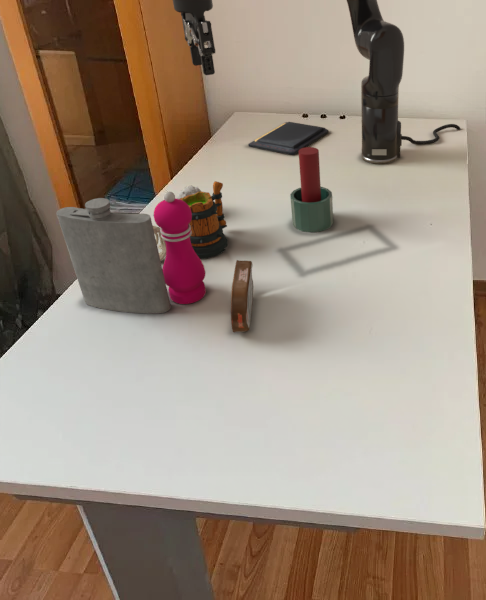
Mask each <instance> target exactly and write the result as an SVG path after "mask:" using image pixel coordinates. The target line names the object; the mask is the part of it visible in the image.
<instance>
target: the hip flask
mask: <svg viewBox="0 0 486 600" xmlns="http://www.w3.org/2000/svg"><path fill="white" fill-rule="evenodd" d="M84 207H85V208H80V207H75V206H66V207H62V208H60V209H58V210H57V211H56V213H55V214H56V217H57V220H58V223H59V226H60V229H61V233H62V236H63V239H64V242H65V245H66V248H67V251H68V254H69V257H70V261H71V263H72V267H73V269H74V274H75V275H76V279H77V282H78V285H79V289H80V292H81V294H82V297H83V301H84V303H85V305H87V306H90V307H94V308H99V309H103V310H107V311H108V310H109V311H115V312H121V313H122V312H123V313H132V314H165V313H167V312H168V311H170V310H171V308H172V307H171V306H172V305H171V302H170V295H169V291H168V286H167V285H166V283H165V279H164V274H163V265H162V260H161V261H160V256H159V253H160V251H159V248H158V244H157V243H156V236H155V234H154V230H153V226H154V225H153V221H152V218H151V214H148V213H127V212H126V213H125V212H124V213H123V212H112V211H111V209H110V207H111V202H110V200H109V199H108V198H103V197H98V198H93V199H90V200H88V201H86V202H85V204H84ZM152 225H153V226H152Z"/></svg>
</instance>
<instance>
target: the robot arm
mask: <svg viewBox="0 0 486 600" xmlns="http://www.w3.org/2000/svg"><path fill="white" fill-rule="evenodd" d="M346 3H347V7H348V12H349V17H350V22H351V29H352V34H353V39H354V43H355V47H356V49H357V51H358V53H359V54H360V56H362V57H363V58H364V59H366V60H369V69H368V75H367V76H365V77H363V79H362V80H361V84H360V85H361V86H360V87H361V88H360V89H361V91H360V93H361V95H360V97H361V100H360V102H361V160H362V161H364V162H365V163H366V162H367V163H369V164H375V165H385V164H390V163H393V162H395V161H396V160H397V159H401V148H402V141H408V142H410V143H411V145H420V146H421V145H430V144H435V143H437V142H439V140H440V135H439V134H438V133H439V132H441V131H442V130H445V129H449V128H453V129H456V130H457V131H461V130H462V128H461V127H460V126H459V125H458V124H455V123H447V124H444V125H441V126H438V127H437V128H435V129H434V130H433V131H432V136H434V138H432V139H429V140H415V139H413V138H412V137H411V136H406V135H403V134H402V122H401V121H400V120H399V99H400V98H399V95H400V93H399V92H400V84H401V81H402V79H403V74H404V60H405V38H404V34H403V32H402V30H401V29H400V27H398V26H397V25H396V24H393V23H391V22H387V21H386V20H384V18H383V15H382V13H381V10H380V6H379V3H378V0H346ZM172 4H173V9H174V11H176V12H177V13H180V16H181V22H182V27H183V34H184V40H185V42H187V45H188V47H189V51H190V57H191V64H192V65H193V66H195V67H197V66H201V67H202V73H203V74H204V75H205V76H211V75H214V74H215V73H216V72H215V71H216V70H215V65H214V59H213V55H215V54H216V47H215V41H214V35H213V28H212V22H211V20H206V16H205V13H206V12H210V11H211V10H212V9H213V7H214V5H213V0H172ZM205 46H207V47H205Z"/></svg>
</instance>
